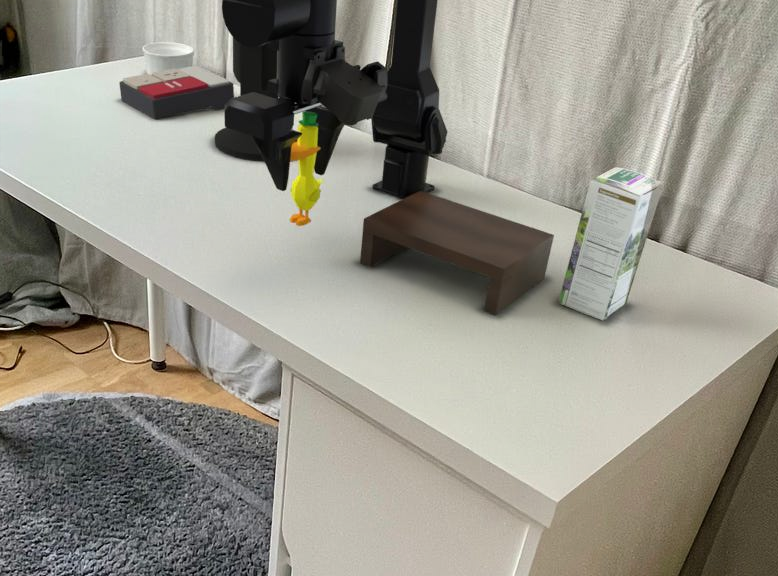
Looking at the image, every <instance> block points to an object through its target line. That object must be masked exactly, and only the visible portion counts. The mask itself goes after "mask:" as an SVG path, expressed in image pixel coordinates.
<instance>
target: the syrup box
mask: <svg viewBox="0 0 778 576" xmlns="http://www.w3.org/2000/svg"><path fill="white" fill-rule="evenodd" d="M587 187H588V188H587V192H586V195H585V200H584V204H583V206H582V209H581V210H582V211H581V214H580V218H579V219H580V220H579V222H578V226H577V230H576V234H575V238H574V241H573V245H572V249H571V252H570V257H569V260H568V264H567V268H566V272H565V276H564V280H563V282H562V286H561V287H562V288H561V291H560V294H559V298H558V304H560V305H562V306H565V307H567V308H570V309H572V310H574V311H577V312H579V313H582V314H584V315H587V316H590V317H593V318H595V319H598V320H601V321H605V320H607V319H608V318H610V317H611V316H612V315H613V314H615V313H616V312H617V311H619V310H620V309H621V308H623V307H624V306H625V305H627V302H628V300H629V296H630V293H631V289H632V286H633V283H634V280H635V276H636V273H637V270H638V267H639V265H640V261H641V258H642V256H643V255H642V254H643V251H644V248H645V244H646V242H647V238H648V235H649V233H650V229H651V225H652V222H653V219H654V216H655V213H656V210H657V206H658V203H659V200H660V197H661V194H662V190H663V187H664V183H663V182H662V181H659V180H658V179H655V178H654V177H651V176H649V175H646V174H644V173H641V172H638V171H635V170H631V169H627V168H623V167H617V166H615V167H613V168H611V169H609V170H607V171H606V172H604V173H601V174H600V175H598V176H595V177H593V178H592V179H590V181H589V184H588V186H587Z"/></svg>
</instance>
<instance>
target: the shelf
mask: <svg viewBox="0 0 778 576" xmlns="http://www.w3.org/2000/svg"><path fill="white" fill-rule="evenodd" d="M554 238H555V234H552V233H549V232H546V231H544V230H541V229H538V228H534V227H532V226H529V225H526V224H522V223H519V222H516V221H514V220H510V219H508V218H504V217H501V216H498V215H495V214H493V213H489V212H486V211H484V210H480V209H478V208H474V207H471V206H468V205H465V204H462V203H459V202H456V201H453V200H450V199H447V198H444V197H441V196H438V195H436V194H432V193H430V192H429V193H426V192H423V191H419V192H417V193H415V194H413V195H411V196H409V197H407V198H405V199H400V200H398V201H396V202H394V203H393V204H391V205H388V206H386V207H384V208H382V209H380V210H378V211H376V212H374V213H372V214H370V215H368V216H366V217H364V218H363V224H362V235H361V248H360V258H359V264H361V265H363V266H367V267H369V268H371V267H374V266H375V265H377V264H378V263H381V262H383V261H384V260H386V259H388V258H389V257H392V256H393V255H395V254H396V253H398V252H400V251H402V250H403V249H405V248H408V249H411V250H414V251H416V252H419V253H422V254H424V255H427V256H430V257H433V258H436V259H439V260H441V261H444V262H446V263H449V264H452V265H455V266H458V267H459V268H463V269H466V270H468V271H471V272H474V273H477V274H479V275H482V276H484V277H487V278H489V279H488V284H487V291H486V296H485V301H484V306H483V311H484V312H485V313H488V314H491V315H493V316H497V315H498V314H499V313H501V312H502V311H503V310H505V309H506V308H507V307H508V306H510V305H511V304H513V303H514V302H515V301H516V300H518V299H519V298H521V297H522V296H524V294H526V293H527V292H529V291H530V290H531V289H533V288H535V286H537V285H539V283H541V282H542V281H543V280H545V277H546V272H547V268H548V264H549V260H550V254H551V251H552V246H553V242H554Z"/></svg>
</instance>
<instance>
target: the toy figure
mask: <svg viewBox="0 0 778 576" xmlns="http://www.w3.org/2000/svg"><path fill="white" fill-rule="evenodd" d="M301 113H302V116H301V117H302V119H301V120H298V124H299V125H297V131H298V132H301V133H302V135H301V136H300V137H299V138H298V141H297V142H294V143H293V144H292V147H291V157H290V163H291V162H295V161H297V163H298V173H299V174H298V175H297V176H296V178H295V179H294V180H293V181H292V183H291V188H290V193H291V198H292V200H293V202H294V203H295V205H296V207H297V208H298V211H299V212H298V213H293V214H292V215H291V216H290V218H289V222H290V223H292V224H295V225H296V226H298V227H302V226H303V227H304V226H306V225H308V224H310V223H311V222H312V220H311V218H310V217H309V212H310V211H311V210H312V209H313V208H314V206H315V205H316V203H317V202H318V201H319V199H320V198H321V191H322V190H321V189H320V186H321V184H322V182H323V180H324V179H323V178H321V179H317V178H316V177H315V176H314V172H315V171H314V165H315V159H316V153H317V151H318V150H320V149H321V147H318V146H317V140H318V127H317V126H318V123H316V122H315V121H316V118H317V114H316V113H314V112H308V111H304V112H301ZM303 211H304V214H303Z"/></svg>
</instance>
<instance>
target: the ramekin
mask: <svg viewBox="0 0 778 576" xmlns="http://www.w3.org/2000/svg"><path fill="white" fill-rule="evenodd" d="M142 53H143V57H144V63H145V71H146V74H150V75H152V74H151V73H154V72H159V71H164V70H169V69H178V70H179V69H181V68H186V67H191V66H193V60H194V55H195V49H194V48H193V47H192V46H190V45H188V44H186V43H185V44H184V43H179V42H173V41H172V42H171V41H156V42H151V43H150V42H149V43H147V44H145V45H143V46H142Z"/></svg>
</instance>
